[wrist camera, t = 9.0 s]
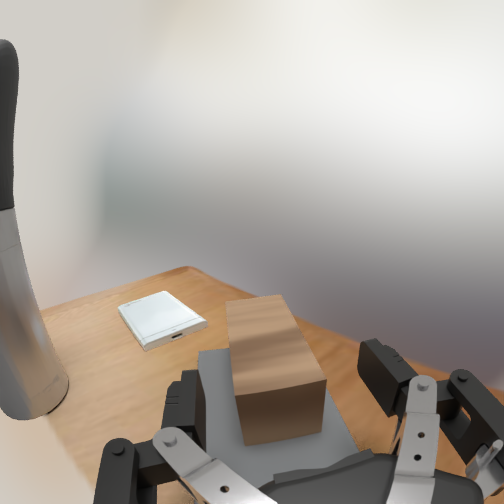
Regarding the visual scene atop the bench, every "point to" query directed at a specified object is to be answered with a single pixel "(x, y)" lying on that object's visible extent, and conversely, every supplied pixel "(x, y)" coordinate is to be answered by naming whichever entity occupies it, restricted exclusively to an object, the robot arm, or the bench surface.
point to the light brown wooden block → (273, 372)
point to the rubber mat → (269, 454)
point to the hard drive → (160, 319)
